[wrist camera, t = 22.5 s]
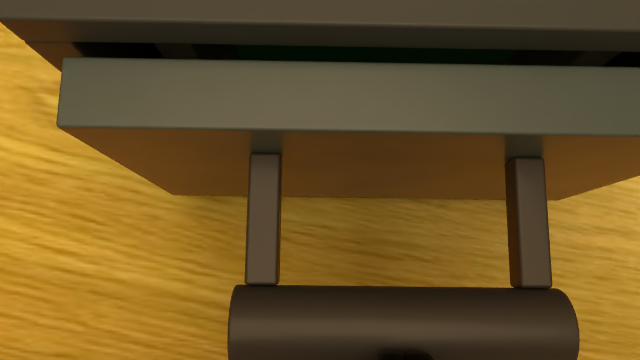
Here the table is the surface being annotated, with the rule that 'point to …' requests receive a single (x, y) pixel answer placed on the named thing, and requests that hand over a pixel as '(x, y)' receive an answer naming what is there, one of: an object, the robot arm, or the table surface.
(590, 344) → the table surface
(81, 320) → the table surface
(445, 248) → the table surface
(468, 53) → the sponge
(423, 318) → the drawer
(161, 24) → the cabinet
